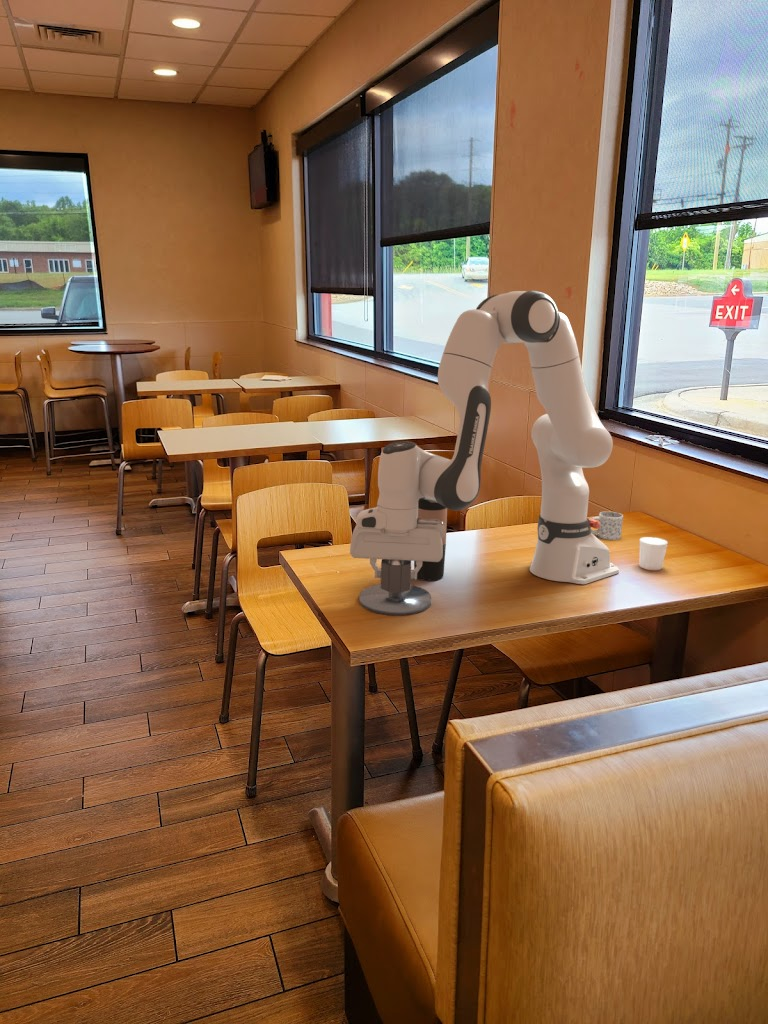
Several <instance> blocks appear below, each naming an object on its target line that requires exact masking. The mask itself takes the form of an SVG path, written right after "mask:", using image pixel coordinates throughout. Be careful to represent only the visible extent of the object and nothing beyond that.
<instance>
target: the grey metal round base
mask: <svg viewBox="0 0 768 1024" xmlns="http://www.w3.org/2000/svg"><path fill="white" fill-rule="evenodd" d="M389 564H390V565H403V564H404V560H389ZM358 601H359V604H360V606H361V607H362V608H363V609H365V610H366V611H367V610H368V611H369V612H372V613H375V614H380V615H386V616H409V615H410V616H411V615H415V614H419V613H422V612H424V611H426V610H428V609H429V608H430V607H431V605H432V595H431V593H430V592H429V591H428V590H426V589H424V588H422V587H420V586H416V585H413V584H410V590H408V591H404V592H388V591H385V590H383V589H381V583H378V584H373V585H371V586H368V587H366V588H364V589H362V590H361V591H360V593H359V600H358Z"/></svg>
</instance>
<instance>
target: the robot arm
mask: <svg viewBox="0 0 768 1024" xmlns="http://www.w3.org/2000/svg"><path fill="white" fill-rule="evenodd" d="M519 343H520V344H523V345H524V346H525V347H526V350H527V352H528V359H529V363H530V365H529V366H530V371H531V374H532V375H531V376H532V379H533V383H534V385H533V386H534V389H535V393H536V398H537V400H538V402H539V403H540V404H541V405H542V407H543V408H544V411H545V412H546V413H545V414H542V415H541V416H539V417H538V418H537V419H536V420H535V421H534V423H533V425H532V428H531V431H530V433H531V439H532V440H531V441H532V443H533V444H534V446H535V449H536V451H537V452H536V453H537V457H538V462H539V468H540V476H541V502H540V503H541V504H540V514H539V515H538V519H537V541H536V545H535V550H534V554H533V557H532V561H531V564H530V566H529V572H530V573H531V574H533V575H534V576H537V577H538V578H542V579H545V580H549V581H554V582H563V583H572V584H577V585H587V584H589V583H593V582H597V581H599V580H602V579H605V578H608V577H610V576H613V575H616V574H617V575H618V574H619V573H620V568H619V567H618V566H617V565H615V564H614V563H612V562H611V555H610V553H611V552H610V549H609V548H608V545H606V544H605V543H603V541H601V540H600V538H599V537H598V536H595V534H592V533H591V530H592V528H593V529H595V530H598V528H599V525H600V524H599V523H600V522H599V521H596V520H594V519H592V520H589V519H590V518H588V509H589V497H590V496H589V495H590V487H589V483H588V482H587V480H586V478H585V475H584V471H583V468H584V469H585V468H586V469H589V468H590V469H592V468H597V467H600V466H602V465H604V464H605V463H606V462H607V461H608V459H609V458H610V456H611V454H612V451H613V445H614V441H613V437H612V435H611V433H610V432H609V430H607V429H606V427H605V426H604V425H603V422H602V421H601V420H600V417H599V416H598V413H597V412H596V408H595V407H594V404H593V403H592V400H591V398H590V395H589V393H588V390H587V386H586V383H585V379H584V374H583V373H584V372H583V368H582V364H581V358H580V353H579V349H578V344H577V339H576V336H575V333H574V331H573V328H572V325H571V322H570V320H569V318H568V317H567V315H565V314H564V313H563V312H560V311H559V310H558V307H557V304H556V303H555V301H554V300H553V299H552V298H551V296H549V295H548V294H546V293H544V292H541V291H537V290H523V291H522V290H515V291H509V292H506V293H501V294H493V295H491V296H488V297H486V298H485V299H483V300H482V301H481V302H480V303H479V304H478V305H477V306H476V308H475V309H473V308H472V309H468V310H466V311H463V312H462V313H461V314H460V315H459V316H458V318H457V319H456V322H455V323H454V325H453V327H452V328H451V331H450V334H449V336H448V339H447V341H446V344H445V347H444V349H443V353H442V356H441V359H440V363H439V366H438V372H437V383H438V386H439V389H440V391H441V393H442V394H443V395H444V396H445V397H446V398H447V400H449V402H450V403H452V404H453V405H454V407H455V409H456V410H457V413H458V417H459V424H458V425H459V426H458V432H457V436H456V443H455V447H454V453H453V456H452V458H451V459H449V458H447V457H444V456H442V455H441V456H440V455H437V454H434V453H431V452H429V451H427V450H424V449H422V448H421V447H419V446H418V445H417V443H415V442H412V441H408V440H404V441H395V442H390V443H389V444H387V445H385V446H384V447H383V448H382V450H381V453H380V455H379V461H378V467H377V468H378V470H377V471H378V472H377V487H378V491H379V493H378V495H379V496H378V499H377V503H376V506H375V507H372V508H367V509H362V510H360V512H359V513H358V514H357V516H356V524H355V527H354V529H353V531H352V534H351V539H350V547H349V548H350V549H349V554H350V555H351V557H352V558H353V559H366V560H367V559H369V564H370V566H371V568H372V569H373V571H374V578H377V579H381V567H379V566H378V564H377V561H378V560H382V559H387V560H408V561H411V562H412V561H413V562H414V561H416V565H417V566H416V568H415V569H414V568H413V569H411V571H410V580H416V581H417V579H418V578H417V573H418V571H419V570H420V568H421V567H422V562H423V561H429V562H439V561H440V560H441V559H442V557H443V547H442V539H443V538H444V536H445V525H444V524H443V523H442V522H440V521H439V520H438V519H431V520H430V519H422V518H418V500H419V499H420V498H423V497H425V498H427V499H429V500H432V501H435V502H437V503H439V504H441V505H443V506H444V507H446V508H447V510H449V511H450V510H451V511H454V512H455V511H456V512H458V511H463V510H465V509H466V508H468V507H469V506H471V505H472V503H474V502H475V501H476V499H477V497H478V496H479V493H480V492H481V491H480V490H481V483H482V480H481V479H482V477H481V475H482V474H481V473H482V461H483V458H484V457H483V455H484V451H485V445H486V440H487V435H488V428H489V425H490V424H489V423H490V419H491V409H492V398H491V394H490V393H489V392H490V391H489V384H490V377H491V372H492V368H493V366H494V362H495V359H496V355H497V352H498V350H499V348H500V347H501V346H502V344H508V345H513V344H515V345H516V344H519ZM439 523H440V524H439ZM590 527H591V529H590Z"/></svg>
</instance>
